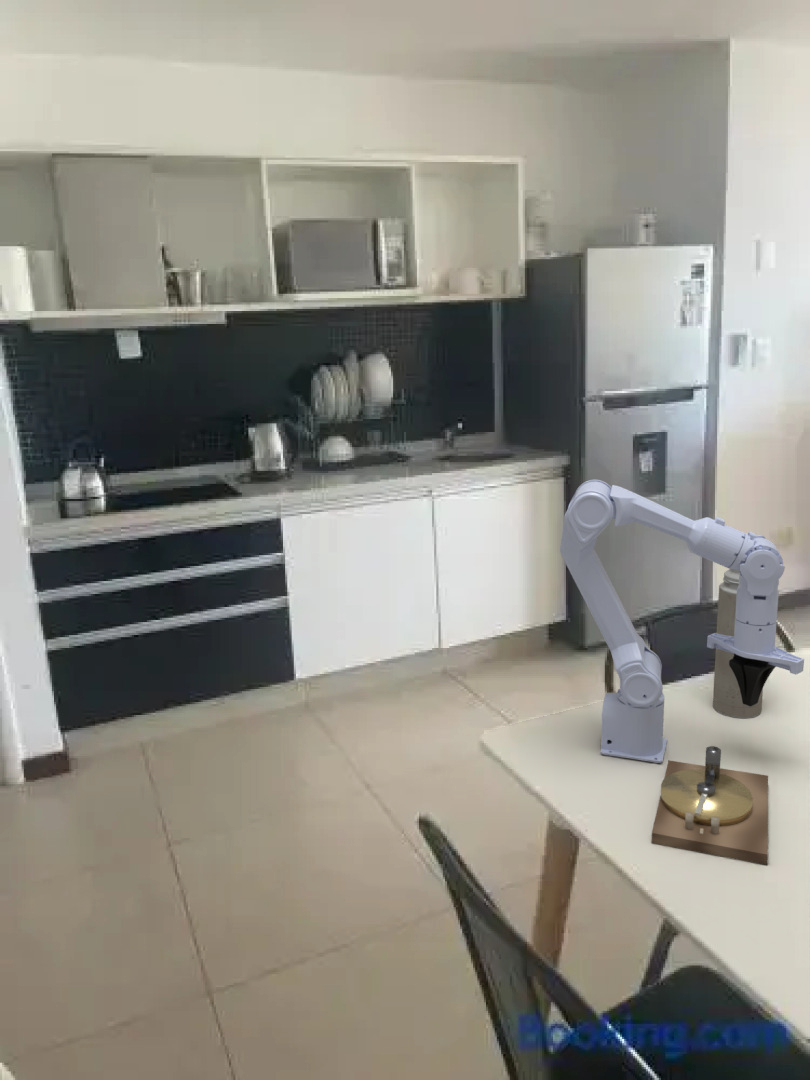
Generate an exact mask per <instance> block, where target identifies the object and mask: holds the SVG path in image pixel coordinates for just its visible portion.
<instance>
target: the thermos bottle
mask: <svg viewBox="0 0 810 1080" xmlns="http://www.w3.org/2000/svg"><path fill="white" fill-rule="evenodd" d="M739 571H740V570H734V569H729V568H728V570H725V571H724V574H723V578H722V581H723V582H721V583H720V584H719V585H718V597H717V598H718V599H717V617H716V619H717V620H716V633H717V634H721V635H726V636H733V637H734V629H735V613H736V596H737V588H738V586H739ZM733 657H734V654H733V653H730V652H727V651H724V650H720V649H717V648H715V659H714V661H715V663H714V672H713V673H714V676H713V691H712V692H713V695H712V707H713V709H714V710H715V711H716V712H717V713H719V714H722V715H724V716H726V717H730V718H736V719H749V718H755V717H758V716H759V715H761V713H762V709H763V708H762V707H763V694H764V688H763V689H762V691H761V694H760V697H759V700H758V703H757V704H755V705H753V706H748V705H745V704H743V702H742V697H741V692H740V688H739V685H738V682H737V679H736V677H735V675H734V673H733V671H732V669H731V667H730V666H729V660H731V659H733Z"/></svg>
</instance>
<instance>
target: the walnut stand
mask: <svg viewBox="0 0 810 1080" xmlns="http://www.w3.org/2000/svg"><path fill="white" fill-rule="evenodd" d="M666 764H667V765H666V769H665V774H664V778H663V780H664V779H665V778H666V777H667V776H668V775H670V774H672V773H675V772H679V771H683V770H705V765H701V764H695V763H688V762H681V761H675V760H667V763H666ZM720 773H721V774H724V775H727V776H730V777H732V778H734V779H736V780H738V781H739V782H741V783H742V784H744V785H745V786H746V787H747V788H748V789H749V791H750V792H751V794H752V797H753V803H752V812H751V814H750V815H749V817H748V818H746V819H745V820H743V821H741V822H739V823H736V824H732V825H725V826H719V821H720V819H719V818H718V817H712V818H711V825H703V824H698V823H695V822H693V819H694V814H693V813H691V812H687V813H686V818H685V819H683V818H681V817H679V816H677V815H675V814H674V813H672V812H671V811H670V810H668V809H667V808H666V807H665V805H664V804H663V802H662V800H661V794H660V795H659V800H658V805H657V810H656V814H655V818H654V822H653V828H652V831H651V844H656V845H661V846H666V847H671V848H675V849H676V848H677V849H681V850H686V851H693V852H697V853H703V854H707V855H713V856H718V857H723V858H729V859H734V860H738V861H744V862H749V863H753V864H760V865H764V866H768V859H769V856H768V855H769V775H767V774H766V775H765V774H760V773H754V772H753V773H752V772H747V771H741V770H740V771H739V770H735V769H727V768H721V767H720Z"/></svg>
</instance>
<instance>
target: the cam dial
mask: <svg viewBox="0 0 810 1080" xmlns="http://www.w3.org/2000/svg"><path fill="white" fill-rule="evenodd" d="M705 748H706V749H705V762H704V763H705V764H704V766H705V770H683V771H679V772H675V773H672V774H670V775H668V776H667V777H666V778H665V777H664V778H665V779H664V778H663V780H662V781H661V784H660V795H661V800H662V802H663V804H664V805H665V807H666V808H667V809H668V810H670V811H671V812H672V813H674V814H675V815H677V816H679V817H681V818H683V819H685V818H686V813H687V812H691V813H693V814H694V819H693V822H695V823H698V824H703V825H711V818H712V817H718V818H719V819H720V821H719V826H725V825H732V824H736V823H739V822H741V821H743V820H745V819H746V818H748V817H749V815H750V814H751V812H752V803H753V797H752V794H751V792H750V791H749V789H748V788H747V787H746V786H745V785H744V784H742V783H741V782H739V781H738V780H736V779H734V778H732V777H730V776H727V775H724V774H721V773H720V768H721V758H722V757H721V755H722V749H721V748H720V747H718V746H714V745H713V746H710V745H709V746H707V747H705Z"/></svg>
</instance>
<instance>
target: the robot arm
mask: <svg viewBox="0 0 810 1080" xmlns="http://www.w3.org/2000/svg"><path fill="white" fill-rule="evenodd" d="M612 519H613V520H615V523H614V527H620V526H624V525H627V524H628V525H629V524H632V523H638V524H640V525H643V526H644V527H648V528H651V529H653V530H656V531H659V532H662V533H664V534H666V535H669V536H672V537H673V538H677V539H680V540H682V541H685V543H686V545H687V547H688V550H689V551H690V553H691V554H694V555H696V556H699V557H701V558H704V559H705V560H708V561H711V562H712V563H715V564H717V565H720V566H722V567H724V568H726V569H728V570H729V569H734V570H740V571H739V586H738V588H737V596H736V613H735V629H734V637H733V636H726V635H721V634H717V632H714V633H711V634H709V635H707V638H706V639H707V641H706V648H708V649H712V650H713V649H716V648H717V649H720V650H724V651H727V652H730V653H733V654H734V657H733V659H731V660H729V666H730V667H731V669H732V671H733V673H734V675H735V677H736V679H737V682H738V685H739V688H740V692H741V697H742V702H743V704H745V705H748V706H753V705H755V704H757V703H758V700H759V697H760V694H761V691H762V689H763V690H764V686H765V684H766V682H767V680H768V678H769V677H770V676H771V674H772V672H773V671H774V669H775V668H779V669H783V670H787V671H789V673H790V674H793V675H798V674H801V673H802V672H803V671H804V668H805V666H804V665H805V659H804V658H803V657H799V656H796V655H795V654H792V653H790V652H788V651H787V650H783V649H782V648H779V647H778V646H776V637H777V635H776V634H777V624H778V623H777V621H778V608H779V607H778V606H779V597H780V596H779V594H780V592H779V590H778V589H779V585H780V579H781V578H782V576H783V575H784V572H785V569H786V566H785V565H784V561H783V557H782V555H781V553H780V551H779V550H778V547H777V546H776V544H774V543H773V542H772V541H771V540H769V539H768V538H766V536H764V535H758V534H756V533H754V532H753V531H748V533H746V532H744V531H742V530H739V529H737V528H734V527H733V526H730V525H727V524H726V521H725V519H724V518H722V517H720V516H715V518H711V517H707V516H706V517H703V518H700V519H697V520H696V519H695V520H694V519H692V518H689V517H687V516H686V515H685V516H684V515H683V514H681V513H678V512H676V511H675V510H672V509H669V508H667V507H666V506H664V505H661V504H659V503H657V502H655V501H653V500H651V499H649V498H648V497H647V498H646V497H645V496H642V495H640V494H638V493H636V492H634V491H631V490H629V489H627V488H624V487H622V486H619V485H615V484H612V485H610V484H608V483H607V482H606V481H603V480H600V479H590V480H587V481H584V482H583V483H581V484H580V485H579V486H578V488H577V489H576V491H575V492H574V494H573V496H572V498H571V499H570V502H569V504H568V507H567V510H566V512H565V513H564V517H563V526H562V532H561V539H560V548H559V551H560V555H561V558H562V560H563V561H564V563H565V565H566V567H567V569H568V570H569V573H570V575H571V577H572V579H573V581H574V583H575V585H576V587H577V588H578V591H579V592H580V594H581V596H582V598H583V600H584V603H585V604H586V606H587V608H588V610H589V612H590V614H591V615H592V618H593V620H594V621H595V623H596V626H597V627H598V629H599V632H600V634H601V636H602V637H603V639H604V641H605V643H606V644H607V645H606V646H608V649H609V651H610V653H611V656H612V661H613V665H614V668H615V671H616V673H617V675H618V678H619V688H618V690H617V692H605V695H604V697H603V698H604V699H603V702H602V710H601V738H600V741H601V744H600V745H601V746H600V748H601V749H600V754H601V755H604V756H609V757H610V756H611V757H618V758H623V759H631V760H637V761H642V762H643V761H644V762H649V763H655V764H656V763H657V764H662V763H663V760H664V757H665V753H666V749H667V748H666V747H667V745H668V738H667V737H664V720H665V719H664V718H665V717H664V715H665V694H664V692H663V690H664V689H663V688H664V687H663V682H662V670H663V664H662V661H661V659H660V657H659V655H657V653H655V652H654V651H653V650H651V649H650V648H649V647H648V645H646V642H645V641H644V638H642V636H641V635H639V634H638V633H637V630H636V628H635V627H634V625H633V622H632V621H631V618H630V617H629V614H628V613H627V610H626V608H625V607H624V604H623V603H622V601H621V599H620V597H619V595H618V593H617V591H616V589H615V587H614V585H613V584H612V583H613V582H612V581H611V580H610V579H611V578H610V577H609V576H608V575H609V574H608V573H607V571H606V570H605V568H604V566H603V563H602V561H601V559H600V558H599V556H598V553H597V552H596V550H595V546H596V544H597V541H598V538H599V535H600V534H601V533H602V532H603V531H604V530H605V529H606V528H607V527H608V526H609V524H610V523H611V521H612Z"/></svg>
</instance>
